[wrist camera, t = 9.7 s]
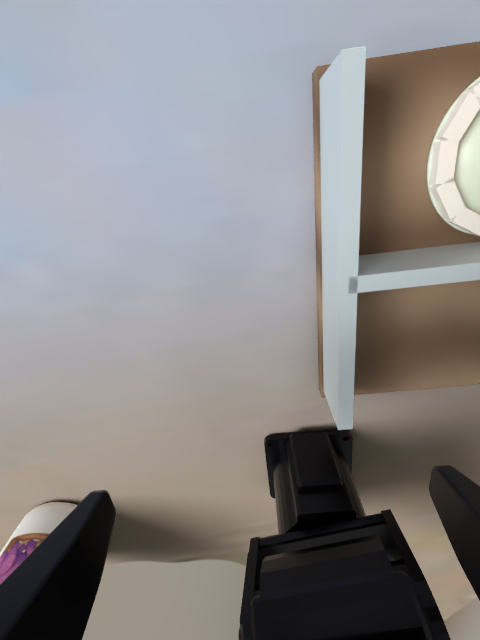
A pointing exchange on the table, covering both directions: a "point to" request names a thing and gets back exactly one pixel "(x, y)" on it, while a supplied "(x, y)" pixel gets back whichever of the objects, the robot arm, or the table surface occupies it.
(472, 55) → the board
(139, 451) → the table surface
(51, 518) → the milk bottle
